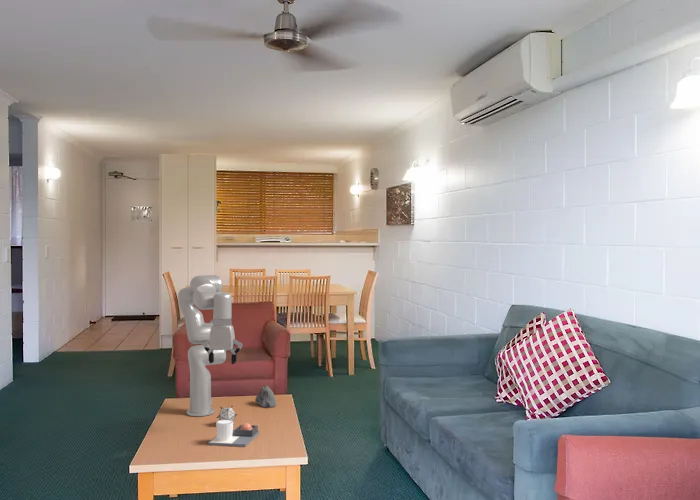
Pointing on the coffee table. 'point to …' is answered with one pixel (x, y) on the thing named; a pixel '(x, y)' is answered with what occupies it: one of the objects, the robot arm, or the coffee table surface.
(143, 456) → the coffee table surface
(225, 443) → the board
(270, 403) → the mineral rock
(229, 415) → the game die
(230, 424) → the shot glass
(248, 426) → the dome
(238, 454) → the coffee table surface
